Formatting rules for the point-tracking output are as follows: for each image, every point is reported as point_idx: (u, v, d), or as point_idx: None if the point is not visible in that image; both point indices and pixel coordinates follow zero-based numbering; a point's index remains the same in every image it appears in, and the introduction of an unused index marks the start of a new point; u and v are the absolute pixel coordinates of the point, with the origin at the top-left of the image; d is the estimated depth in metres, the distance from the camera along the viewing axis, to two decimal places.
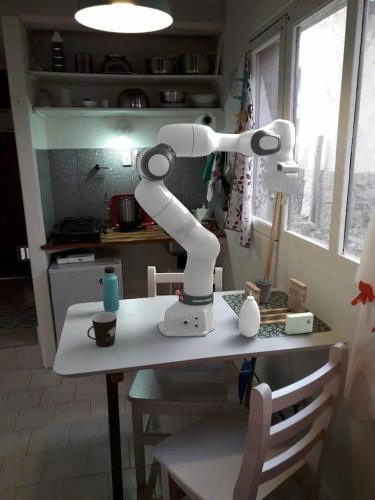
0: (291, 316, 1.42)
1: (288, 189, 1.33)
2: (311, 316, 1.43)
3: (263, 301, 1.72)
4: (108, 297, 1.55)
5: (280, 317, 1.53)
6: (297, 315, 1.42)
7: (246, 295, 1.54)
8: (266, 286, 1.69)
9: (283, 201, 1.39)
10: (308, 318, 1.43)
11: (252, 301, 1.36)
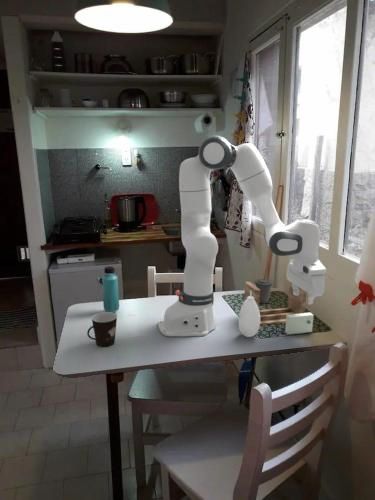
0: (291, 316, 1.42)
1: (315, 293, 1.30)
2: (311, 316, 1.43)
3: (263, 301, 1.72)
4: (108, 297, 1.55)
5: (280, 317, 1.53)
6: (297, 315, 1.42)
7: (246, 295, 1.54)
8: (266, 286, 1.69)
9: (309, 301, 1.36)
10: (308, 318, 1.43)
11: (252, 301, 1.36)
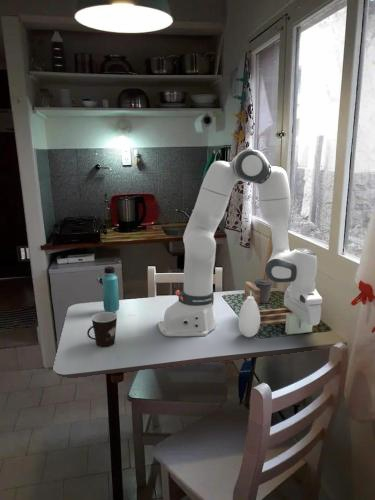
0: (291, 316, 1.42)
1: (311, 322, 1.33)
2: None
3: (263, 301, 1.72)
4: (108, 297, 1.55)
5: (280, 317, 1.53)
6: None
7: (246, 295, 1.54)
8: (266, 286, 1.69)
9: (301, 325, 1.41)
10: None
11: (252, 301, 1.36)
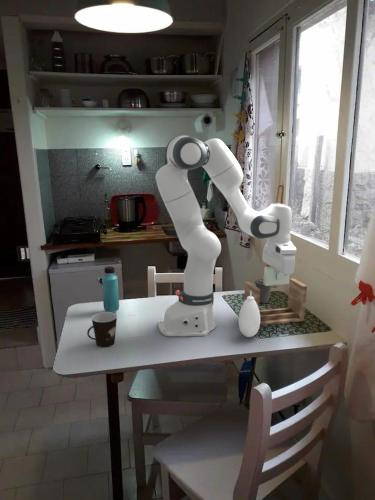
0: (268, 268, 1.49)
1: (286, 271, 1.40)
2: None
3: (263, 301, 1.72)
4: (108, 297, 1.55)
5: (280, 317, 1.53)
6: None
7: (246, 295, 1.54)
8: (266, 286, 1.69)
9: (278, 277, 1.49)
10: None
11: (252, 301, 1.36)
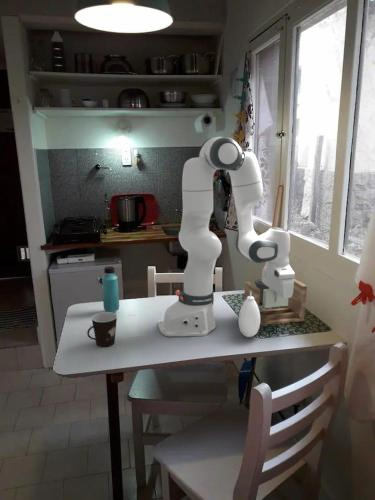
0: (267, 290, 1.51)
1: (285, 295, 1.43)
2: None
3: None
4: (108, 297, 1.55)
5: (280, 317, 1.53)
6: None
7: (246, 295, 1.54)
8: (266, 286, 1.69)
9: (277, 299, 1.51)
10: None
11: (252, 301, 1.36)
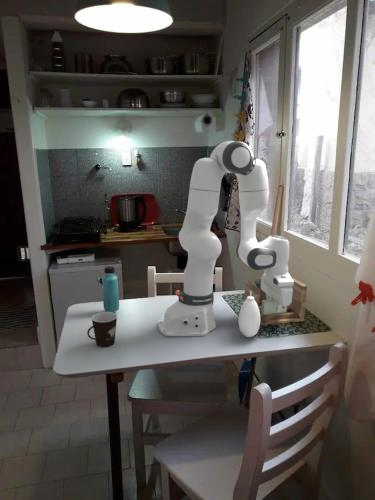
0: (266, 301, 1.53)
1: (283, 303, 1.43)
2: None
3: None
4: (108, 297, 1.55)
5: (280, 317, 1.53)
6: (272, 300, 1.53)
7: (246, 295, 1.54)
8: None
9: (278, 309, 1.50)
10: None
11: (252, 301, 1.36)
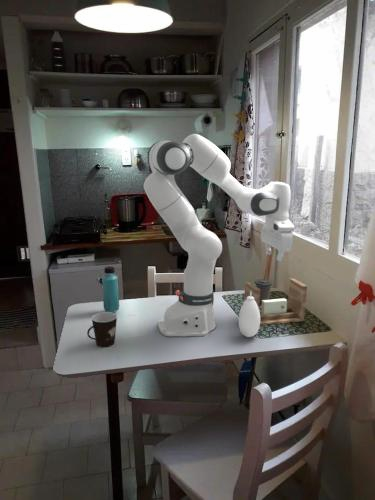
0: (266, 301, 1.53)
1: (283, 248, 1.41)
2: (285, 301, 1.54)
3: None
4: (108, 297, 1.55)
5: (280, 317, 1.53)
6: (272, 300, 1.53)
7: (246, 295, 1.54)
8: (266, 286, 1.69)
9: (279, 257, 1.47)
10: (282, 303, 1.54)
11: (252, 301, 1.36)
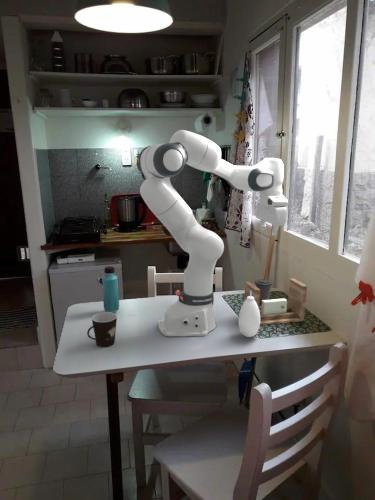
0: (266, 301, 1.53)
1: (278, 222, 1.45)
2: (285, 301, 1.54)
3: None
4: (108, 297, 1.55)
5: (280, 317, 1.53)
6: (272, 300, 1.53)
7: (246, 295, 1.54)
8: (266, 286, 1.69)
9: (273, 232, 1.50)
10: (282, 303, 1.54)
11: (252, 301, 1.36)
